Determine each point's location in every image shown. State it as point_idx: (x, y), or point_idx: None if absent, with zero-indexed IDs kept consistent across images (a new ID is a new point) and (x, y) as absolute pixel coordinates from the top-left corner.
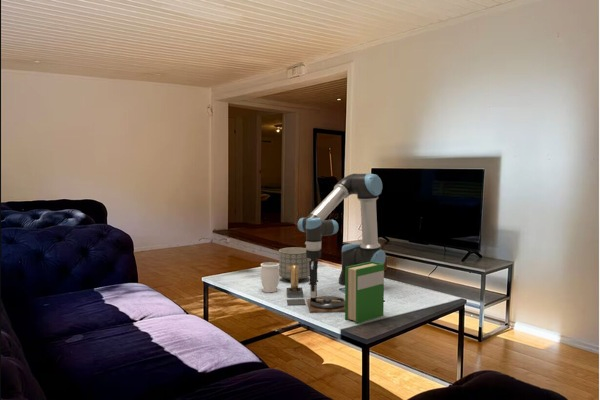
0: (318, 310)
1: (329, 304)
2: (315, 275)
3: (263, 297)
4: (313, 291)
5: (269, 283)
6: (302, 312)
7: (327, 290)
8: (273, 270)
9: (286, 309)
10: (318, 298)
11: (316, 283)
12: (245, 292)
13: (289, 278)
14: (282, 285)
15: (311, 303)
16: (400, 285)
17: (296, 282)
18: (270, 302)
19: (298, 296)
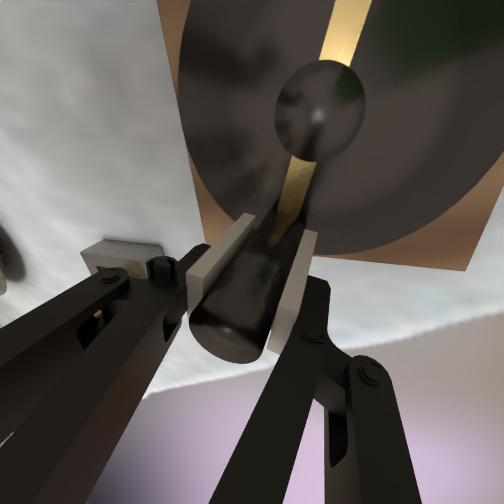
0: (489, 211)
1: (443, 96)
2: (259, 479)
3: (191, 364)
4: (325, 286)
5: None
6: (427, 299)
7: (11, 95)
8: None
9: (346, 347)
10: (241, 188)
11: (208, 274)
12: (156, 384)
13: (2, 272)
14: (55, 286)
15: (350, 251)
16: None
17: (97, 313)
18: (243, 365)
19: None
